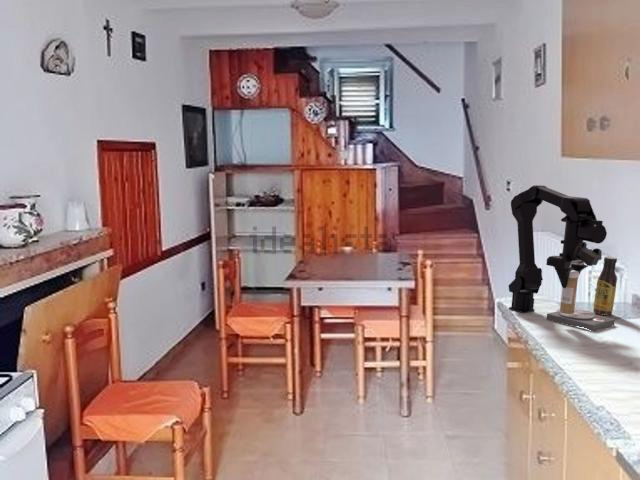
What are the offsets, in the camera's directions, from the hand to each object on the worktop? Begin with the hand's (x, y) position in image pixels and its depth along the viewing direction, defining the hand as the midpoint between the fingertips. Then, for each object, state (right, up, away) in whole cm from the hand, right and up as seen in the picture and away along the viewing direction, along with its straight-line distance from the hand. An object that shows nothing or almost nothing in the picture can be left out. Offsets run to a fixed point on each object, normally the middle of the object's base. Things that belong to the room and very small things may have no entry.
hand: (568, 287), depth 220 cm
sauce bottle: (+20, -11, +22) cm, 31 cm away
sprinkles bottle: (0, -8, +1) cm, 8 cm away
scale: (+7, -12, +8) cm, 16 cm away
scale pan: (+6, -10, +9) cm, 15 cm away
